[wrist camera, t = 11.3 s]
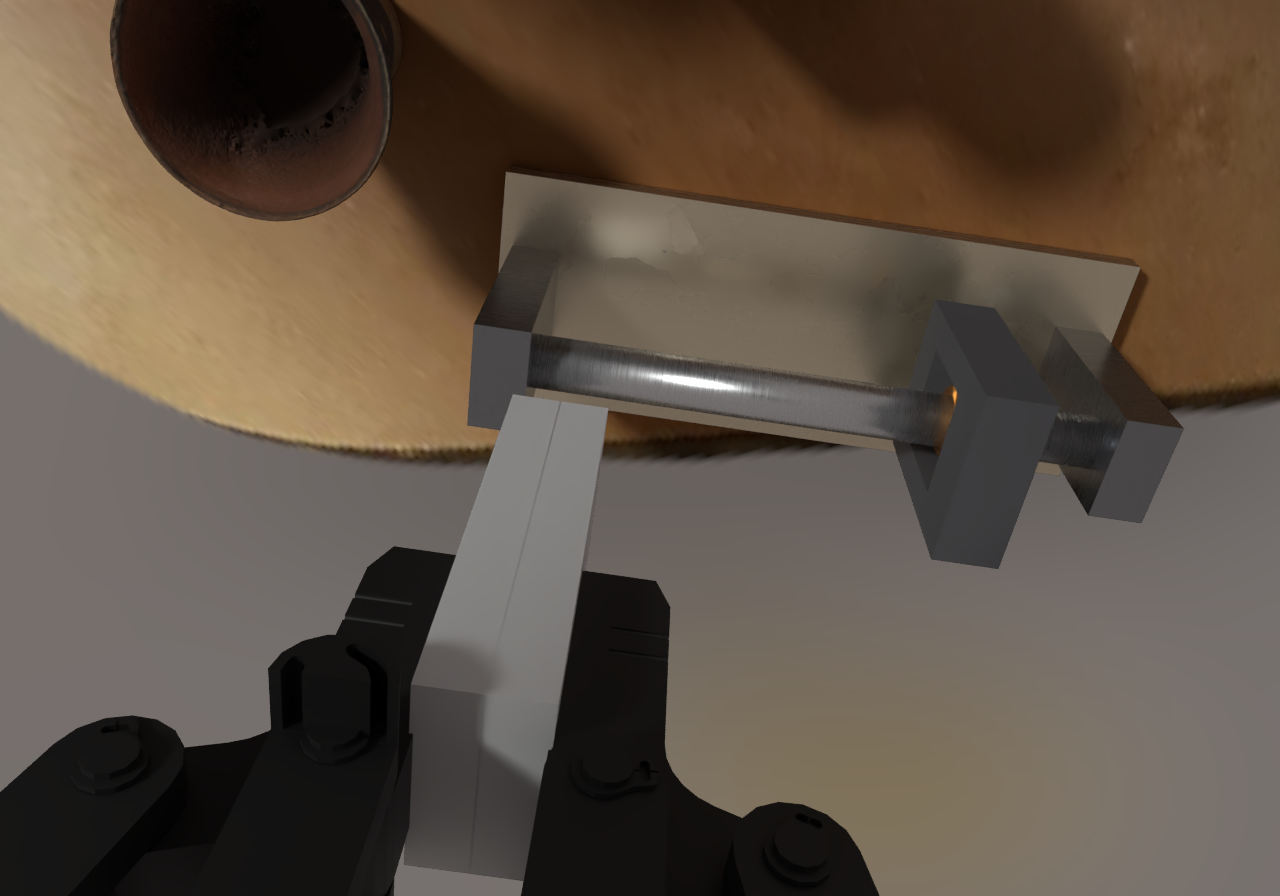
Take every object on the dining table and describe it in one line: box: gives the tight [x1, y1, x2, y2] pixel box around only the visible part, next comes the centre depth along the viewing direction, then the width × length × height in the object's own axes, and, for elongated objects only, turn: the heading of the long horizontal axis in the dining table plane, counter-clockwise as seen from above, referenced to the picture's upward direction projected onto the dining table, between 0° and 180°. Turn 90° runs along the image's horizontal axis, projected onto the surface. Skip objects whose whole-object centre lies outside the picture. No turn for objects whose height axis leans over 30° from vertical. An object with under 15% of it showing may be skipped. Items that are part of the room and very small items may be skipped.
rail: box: [467, 166, 1184, 523], centre depth 41 cm, size 26×10×10 cm, turn 82°
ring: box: [893, 299, 1060, 569], centre depth 39 cm, size 2×6×8 cm, turn 172°
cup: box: [110, 0, 402, 221], centre depth 37 cm, size 9×9×10 cm
